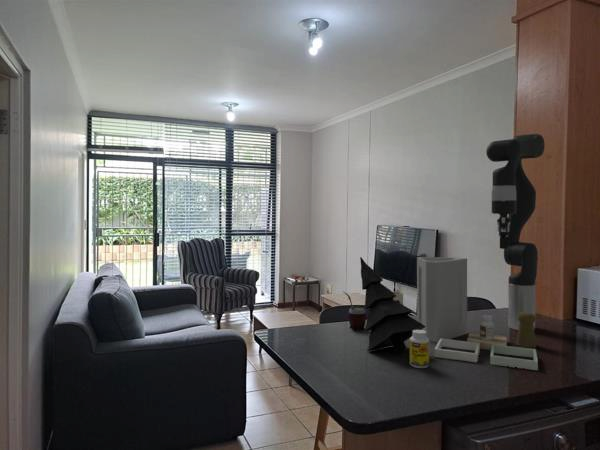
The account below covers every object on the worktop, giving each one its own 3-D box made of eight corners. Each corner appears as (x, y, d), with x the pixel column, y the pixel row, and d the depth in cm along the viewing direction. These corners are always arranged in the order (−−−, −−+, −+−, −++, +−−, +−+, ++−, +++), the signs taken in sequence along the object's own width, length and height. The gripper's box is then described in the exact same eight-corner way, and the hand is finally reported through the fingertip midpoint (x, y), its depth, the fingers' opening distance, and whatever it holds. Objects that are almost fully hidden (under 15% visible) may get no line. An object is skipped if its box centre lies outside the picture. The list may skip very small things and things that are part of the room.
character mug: (393, 329, 168) (393, 295, 168) (378, 325, 173) (378, 293, 173) (409, 324, 175) (409, 292, 175) (395, 320, 181) (394, 290, 180)
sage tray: (491, 351, 140) (491, 344, 140) (535, 357, 134) (535, 349, 134) (490, 364, 128) (490, 355, 128) (537, 370, 123) (537, 361, 123)
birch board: (469, 337, 155) (469, 332, 155) (506, 341, 150) (506, 336, 150) (466, 347, 145) (466, 341, 145) (506, 352, 139) (506, 345, 139)
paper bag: (434, 325, 173) (434, 255, 172) (468, 333, 161) (468, 258, 161) (403, 333, 162) (402, 259, 161) (437, 342, 150) (436, 262, 149)
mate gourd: (369, 327, 170) (368, 290, 170) (360, 332, 164) (360, 293, 163) (351, 325, 174) (351, 288, 174) (343, 330, 168) (342, 291, 167)
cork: (539, 348, 143) (539, 315, 143) (519, 347, 144) (519, 314, 144) (533, 342, 149) (533, 311, 149) (514, 341, 150) (514, 310, 150)
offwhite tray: (440, 345, 147) (440, 338, 147) (479, 350, 141) (479, 342, 141) (434, 356, 135) (434, 348, 135) (477, 362, 130) (477, 354, 130)
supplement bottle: (409, 367, 126) (409, 333, 126) (410, 361, 131) (410, 328, 131) (429, 369, 124) (429, 334, 124) (429, 363, 130) (429, 329, 129)
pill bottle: (477, 336, 150) (477, 314, 149) (489, 336, 150) (489, 314, 150) (483, 340, 145) (483, 317, 145) (496, 340, 145) (496, 317, 145)
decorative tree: (404, 355, 147) (365, 266, 163) (432, 339, 136) (387, 245, 153) (371, 363, 139) (333, 268, 156) (398, 347, 129) (354, 247, 145)
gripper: (492, 200, 154) (492, 245, 154) (490, 199, 141) (490, 249, 141) (516, 199, 150) (515, 246, 151) (516, 198, 138) (516, 249, 138)
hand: (503, 247), depth 146 cm, fingers open, 8 cm apart
